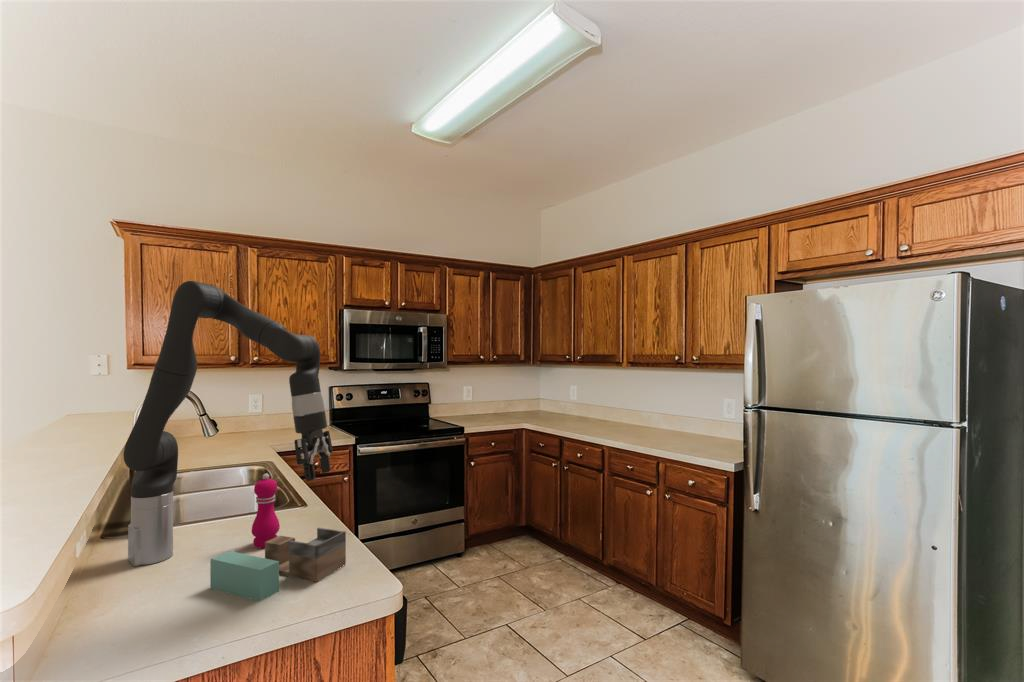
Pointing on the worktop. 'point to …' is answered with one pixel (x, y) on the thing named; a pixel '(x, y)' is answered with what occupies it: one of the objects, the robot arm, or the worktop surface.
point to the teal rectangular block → (244, 575)
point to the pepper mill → (265, 512)
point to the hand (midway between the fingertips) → (318, 475)
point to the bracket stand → (309, 554)
